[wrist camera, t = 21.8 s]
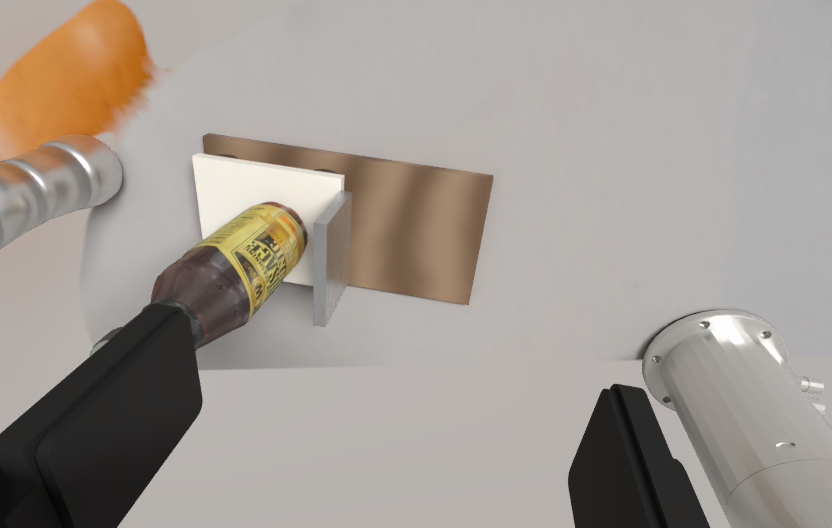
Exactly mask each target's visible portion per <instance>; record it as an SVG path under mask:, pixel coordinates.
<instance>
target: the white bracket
mask: <svg viewBox="0 0 832 528" xmlns="http://www.w3.org/2000/svg"><path fill="white" fill-rule="evenodd" d="M192 159H193V167H194V175H195V183H196V191H197V198H198V206H199V214H200V222H201V230H202V238H203V240H204V239H206V238H207V237H208V236H210V235H211V234H213V233H214V232H215V231H217V230H218V229H219V228H221V227H222V226H224V225H225V224H227V223H228V222H230V221H231V220H232V219H234V218H235V217H237V216H238V215H239V214H241V213H242V212H244V211H245V210H247V209H248V208H250V207H252V206H254V205H258V204H261V203H265V202H277V203H279V204H282V205H284V206H286V207H289V208H291V209H292V210H294V211H295V212H296V213H297V214H298V215H299V217H300V219H301V220H302V221H303V223H304V225H305V227H306V230H307V233H308V237H307V239H308V242H307V245H306V248H305V251H304V253H303V255H302V257H301V259H300V261H299V262H298V263H297V264H296V266H295V267H294V268H293V269H292V270H291V271H290V273H289V274H288V275H287V276H286V277H285V278H284V279H283V281H285V282H291V283H297V284H303V285H309V286H313V325H316V326H322V327H326V325H327V323H328V321H329V319H330V317H331V315H332V313H333V312H334V310H335V308H336V306H337V304H338V302H339V300H340V298H341V296H342V294H343V292H344V291H345V289H346V287H347V285H348V281H349V259H350V236H351V214H352V192H350V191H344V175H340V174H337V173H336V172H335V171H332V170H328V169H315V170H307V169H301V168H294V167H287V166H281V165H274V164H267V163H261V162H254V161H248V160H241V159H238V157H236V156H234V155H228V154H219V155H208V154H201V153H198V154H196V155H194V156H192Z"/></svg>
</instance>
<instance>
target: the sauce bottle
mask: <svg viewBox="0 0 832 528" xmlns="http://www.w3.org/2000/svg"><path fill="white" fill-rule="evenodd" d="M307 237H308V233H307V230H306V227H305V225H304V223H303V221H302V220H301V219H300V217H299V215H298V214H297V213H296V212H295V211H294V210H292V209H291V208H289V207H286V206H284V205H282V204H279V203H277V202H265V203H261V204H258V205H254V206H252V207H250V208H248V209H247V210H245V211H244V212H242V213H241V214H239V215H238V216H237V217H235V218H234V219H232V220H231V221H230V222H228V223H227V224H225V225H224V226H222V227H221V228H219V229H218V230H217V231H215V232H214V233H213V234H211V235H210V236H208V237H207V238H206V239H204V240H203V241H201V242H200V243H199V244H197V245H196V246H195V247H193V248H192V249H190V250H189V251H188V252H186V253H185V254H184V256H183V257H182V258H181V259H179V260H178V261H176V262H175V263H173V264H172V265H170V266H169V267H168V268H167V269H166V270H164V271H163V273H161V275H159V276H158V277H157V280H156V282H155V284H154V288H153V292H152V297H151V303H150V304H149V305H147V306H146V307H144V308H143V310H142V312H143V311H144V310H145V309H146V308H147V307H148V306H150V305H152V304H154V303H158V304H164V305H170V306H175V307H180V308H182V310H183V311H184V314H185V315H188V317H189V318H190V322H191V329H192V335H193V342H194V348H195V351H196V350H197V349H198V348H200V347H202V346H204V345H206V344H208V343H210V342H212V341H214V340H216V339H217V338H219V337H221V336H223V335H225V334H227V333H229V332H231V331H233V330H235V329H237V328H239V327H241V326H243V325H245V324H246V323H247V322H248V321H249V319H250V318H251V317H252V316H253V315H254V314H255V313H256V311H257V310H258V309H259V308H260V306H261V305H262V304H263V303H264V302H265V301H266V300H267V298H268V297H269V296H270V295H271V294H272V293H273V291H274V290H275V289H276V288H277V287H278V286H279V284H280V283H281V282H282V281H283V279H284V278H285V277H286V276H287V275H288V274H289V273H290V271H291V270H292V269H293V268H294V267H295V266H296V264H297V263H298V262H299V261H300V259H301V257H302V255H303V253H304V251H305V248H306V245H307V242H308V239H307ZM137 316H138V315H137ZM137 316H136V317H137ZM136 317H135V318H136ZM132 320H133V319H132ZM132 320H131V321H132ZM131 321H130V322H131ZM130 322H129V323H130ZM129 323H127V324H129ZM127 324H126V325H127ZM126 325H125V326H126ZM125 326H124V327H125ZM124 327H119V328H117V329H114V330H112V331H111V332H109V333H108V334H107V335H106V336H105V337H103V338H102V339H101V340H100V341H99V342H98V343H96V344H95V345H94V346H93V349H92V351H91V354H90V356H91V355H93V354H94V353H95V352H96V351H97V350H98V349H100V348H101V347H102V346H103V345H104V344H105V343H107V342H108V341H109V340H110V339H111V338H112V337H114V336H115V335H116V334H117V333H118V332H119V331H120V330H122V329H123V328H124Z"/></svg>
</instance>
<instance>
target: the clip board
mask: <svg viewBox="0 0 832 528" xmlns="http://www.w3.org/2000/svg"><path fill="white" fill-rule="evenodd" d="M203 142H204V151H205V154H208V155H219V154H228V155H234V156H236V157H238V159H241V160H248V161H254V162H261V163H267V164H274V165H281V166H287V167H294V168H301V169H307V170H315V169H328V170H332V171H335V172H336V173H337V174H340V175H344V191H350V192H352V214H351V236H350V259H349V281H348V285H352V286H358V287H364V288H370V289H376V290H382V291H388V292H394V293H400V294H406V295H412V296H418V297H424V298H430V299H436V300H442V301H448V302H454V303H460V304H466V305H469V300H470V295H471V290H472V285H473V280H474V274H475V269H476V264H477V259H478V254H479V249H480V244H481V239H482V234H483V229H484V223H485V218H486V213H487V208H488V203H489V198H490V193H491V188H492V183H493V175H487V174H480V173H473V172H466V171H459V170H453V169H446V168H439V167H432V166H426V165H419V164H412V163H405V162H399V161H392V160H385V159H378V158H371V157H365V156H358V155H351V154H344V153H338V152H331V151H324V150H317V149H310V148H304V147H297V146H290V145H283V144H277V143H270V142H263V141H256V140H249V139H243V138H236V137H229V136H222V135H216V134H206V135H204V136H203Z"/></svg>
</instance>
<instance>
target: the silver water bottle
mask: <svg viewBox="0 0 832 528" xmlns="http://www.w3.org/2000/svg"><path fill="white" fill-rule="evenodd" d="M122 176H123V173H122V167H121V164H120V162H119V159H118V158H117V156H116V155H115V153H114V152H113V151H112V150H111V148H109V147H108V146H107V145H106V144H104V143H103V142H102V141H100V140H98V139H96V138H94V137H91V136H89V135H85V134H68V135H61V136H58V137H56V138H54V139H52V140H50V141H48V142H46V143H44V144H42V145H41V146H39V147H38V148H36V149H33V150H31V151H28V152H26V153H23V154H21V155H18V156H16V157H13V158H11V159H7V160H3V161H0V249H1V248H3V247H4V246H6V245H7V244H9V243H10V242H12V241H13V240H14V239H16V238H18V237H19V236H21V235H22V234H23V233H25V232H27V231H29V230H31V229H33V228H35V227H37V226H39V225H40V224H42V223H44V222H46V221H48V220H50V219H52V218H55V217H58V216H61V215H64V214H67V213H70V212H73V211H75V210H79V209H85V208H90V207H94V206H97V205H100V204H103V203H105V202H106V201H108V200H109V199H110V198H111V197H113V196H114V195H115V194H116V193H117V192H118V191H119V189H120V186H121V183H122Z"/></svg>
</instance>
